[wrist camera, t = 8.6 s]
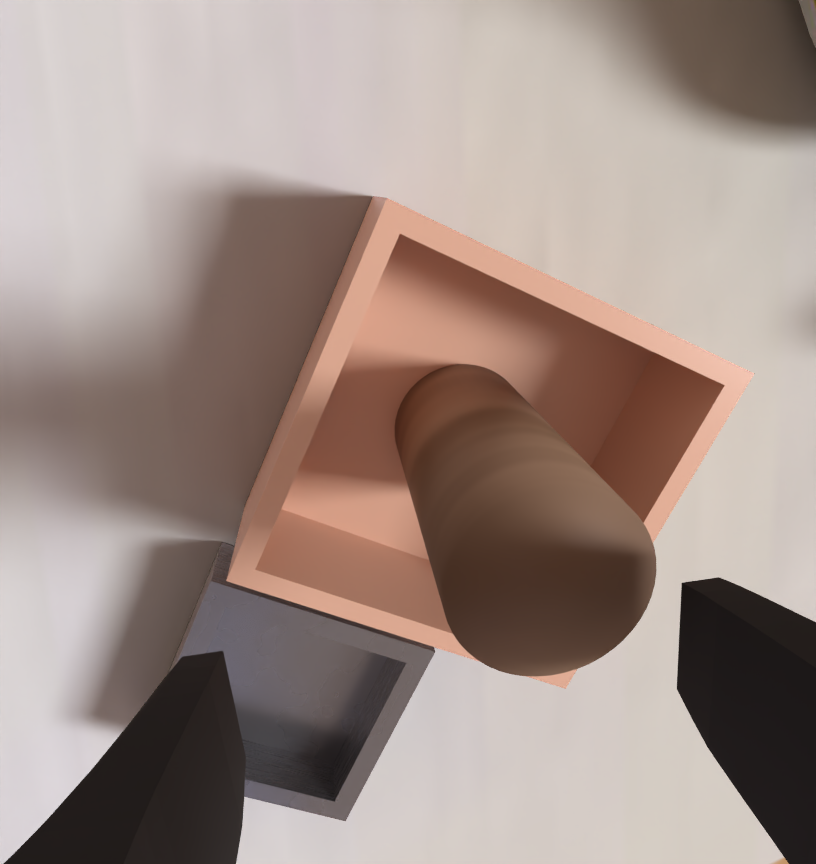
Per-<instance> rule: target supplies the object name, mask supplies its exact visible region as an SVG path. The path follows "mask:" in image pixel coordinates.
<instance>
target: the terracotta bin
mask: <svg viewBox="0 0 816 864" xmlns="http://www.w3.org/2000/svg"><path fill="white" fill-rule="evenodd" d="M457 364H470V365H477V366H481V367H485V368H487V369H490V370H492V371H494V372H496V373H498V374H499V375H500V376H502V377H503V378H504V379H506V380H507V381H508V382H509V383H510V384H511V385H512V386H513V387H514V388H515V389H516V391H517V392H518V393H519V394H520V395H521V396H522V397H523V398H524V399H525V400H526V401H527V402H528V403H529V404H530V405H531V406H532V407H533V408H534V409H535V410H536V411H537V412H538V413H539V414H540V415H541V416H542V417H543V418H544V419H545V420H546V421H547V422H548V423H549V424H550V425H551V426H552V428H553V429H554V430H555V431H556V432H557V433H558V434H559V435H560V436H561V437H562V438H563V439H564V440H565V441H566V442H567V443H568V444H569V445H570V446H571V447H572V448H573V449H574V450H575V451H576V452H577V453H578V454H579V455H580V456H581V457H582V458H583V459H584V460H585V461H586V462H587V463H588V465H589V466H590V467H591V468H592V469H593V470H594V471H595V472H596V473H597V474H598V475H599V476H600V477H601V478H602V479H603V480H604V481H605V482H606V483H607V484H608V485H609V486H610V487H611V488H612V489H613V490H614V491H615V492H616V493H617V494H618V495H619V496H620V497H621V498H622V499H623V500H624V502H625V503H626V504H627V505H628V506H629V507H630V508H631V509H632V510H633V511H634V512H635V513H636V514H637V515H638V516H639V518H640V519H641V520H642V522H643V523H644V525H645V526H646V528H647V530H648V532H649V534H650V536H651V540H652V543H653V542H654V540H655V539H656V537H657V535H658V534H659V532H660V530H661V529H662V527H663V525H664V524H665V522H666V520H667V519H668V517H669V515H670V514H671V512H672V510H673V509H674V507H675V505H676V504H677V502H678V500H679V499H680V497H681V495H682V494H683V492H684V490H685V489H686V487H687V485H688V484H689V482H690V480H691V479H692V477H693V475H694V474H695V472H696V470H697V469H698V467H699V465H700V464H701V462H702V460H703V459H704V457H705V455H706V454H707V452H708V450H709V449H710V447H711V445H712V444H713V442H714V440H715V439H716V437H717V435H718V434H719V432H720V430H721V429H722V427H723V425H724V424H725V422H726V420H727V419H728V417H729V415H730V414H731V412H732V410H733V409H734V407H735V405H736V404H737V402H738V400H739V399H740V397H741V395H742V394H743V392H744V390H745V389H746V387H747V385H748V384H749V382H750V380H751V379H752V377H753V375H754V373H752V372H750V371H748V370H746V369H744V368H742V367H740V366H737V365H735V364H733V363H731V362H729V361H727V360H725V359H723V358H721V357H719V356H717V355H714V354H712V353H710V352H708V351H706V350H704V349H702V348H700V347H698V346H696V345H694V344H691V343H689V342H687V341H685V340H683V339H681V338H679V337H677V336H675V335H673V334H670V333H668V332H666V331H664V330H662V329H660V328H658V327H656V326H654V325H652V324H650V323H647V322H645V321H643V320H641V319H639V318H637V317H635V316H633V315H631V314H629V313H627V312H624V311H622V310H620V309H618V308H616V307H614V306H612V305H610V304H608V303H606V302H603V301H601V300H599V299H597V298H595V297H593V296H591V295H589V294H587V293H585V292H583V291H580V290H578V289H576V288H574V287H572V286H570V285H568V284H566V283H564V282H562V281H560V280H557V279H555V278H553V277H551V276H549V275H547V274H545V273H543V272H541V271H539V270H536V269H534V268H532V267H530V266H528V265H526V264H524V263H522V262H520V261H518V260H516V259H513V258H511V257H509V256H507V255H505V254H503V253H501V252H499V251H497V250H495V249H493V248H490V247H488V246H486V245H484V244H482V243H480V242H478V241H476V240H474V239H472V238H469V237H467V236H465V235H463V234H461V233H459V232H457V231H455V230H453V229H451V228H449V227H446V226H444V225H442V224H440V223H438V222H436V221H434V220H432V219H430V218H428V217H426V216H423V215H421V214H419V213H417V212H415V211H413V210H411V209H409V208H407V207H405V206H402V205H400V204H398V203H396V202H394V201H392V200H390V199H388V198H383V197H375V196H373V197H372V200H371V202H370V205H369V207H368V209H367V212H366V214H365V217H364V219H363V222H362V224H361V226H360V229H359V231H358V234H357V236H356V238H355V241H354V243H353V246H352V248H351V250H350V253H349V255H348V258H347V260H346V263H345V265H344V267H343V270H342V272H341V275H340V277H339V279H338V282H337V284H336V287H335V289H334V292H333V294H332V296H331V299H330V301H329V304H328V306H327V308H326V311H325V313H324V316H323V318H322V321H321V323H320V325H319V328H318V330H317V333H316V335H315V337H314V340H313V342H312V345H311V347H310V349H309V352H308V354H307V357H306V359H305V362H304V364H303V366H302V369H301V371H300V374H299V376H298V378H297V381H296V383H295V386H294V388H293V391H292V393H291V395H290V398H289V400H288V403H287V405H286V407H285V410H284V412H283V415H282V417H281V420H280V422H279V424H278V427H277V429H276V432H275V434H274V436H273V439H272V441H271V444H270V446H269V448H268V451H267V453H266V456H265V458H264V461H263V463H262V465H261V468H260V470H259V473H258V475H257V477H256V480H255V482H254V485H253V487H252V490H251V492H250V494H249V497H248V499H247V502H246V504H245V507H244V511H243V515H242V519H241V523H240V527H239V531H238V535H237V539H236V543H235V547H234V551H233V555H232V559H231V564H230V568H229V572H228V576H227V580H226V581H228V582H231V583H234V584H237V585H240V586H243V587H246V588H250V589H253V590H256V591H259V592H262V593H265V594H269V595H272V596H275V597H278V598H281V599H284V600H287V601H291V602H294V603H297V604H300V605H303V606H306V607H310V608H313V609H316V610H319V611H322V612H325V613H328V614H332V615H335V616H338V617H341V618H344V619H347V620H351V621H354V622H357V623H360V624H363V625H366V626H369V627H373V628H376V629H379V630H382V631H385V632H388V633H392V634H395V635H398V636H401V637H404V638H407V639H410V640H414V641H417V642H420V643H423V644H426V645H429V646H433V647H436V648H439V649H442V650H445V651H448V652H451V653H455V654H458V655H461V656H464V657H467V658H470V659H474V660H477V659H476V658H474V657H473V656H472V655H471V654H469V653H468V652H467V651H466V650H465V649H464V648H463V647H462V646H461V644H460V643H459V642H458V641H457V639H456V638H455V636H454V635H453V633H452V631H451V629H450V627H449V625H448V623H447V620H446V616H445V613H444V610H443V606H442V603H441V599H440V596H439V592H438V589H437V585H436V582H435V578H434V575H433V571H432V568H431V564H430V561H429V557H428V554H427V550H426V547H425V543H424V540H423V536H422V533H421V529H420V526H419V523H418V519H417V516H416V512H415V509H414V505H413V502H412V498H411V495H410V491H409V488H408V484H407V481H406V477H405V474H404V470H403V467H402V463H401V460H400V456H399V453H398V449H397V446H396V441H395V420H396V416H397V412H398V409H399V407H400V404H401V402H402V401H403V399H404V397H405V395H406V394H407V393H408V391H409V390H410V389H411V388H412V387H413V386H414V385H415V384H416V383H417V382H418V381H419V380H420V379H422V378H423V377H424V376H426V375H428V374H429V373H431V372H433V371H435V370H437V369H440V368H443V367H446V366H451V365H457ZM477 661H479V660H477ZM576 670H577V669H575V670H572V671H568V672H565V673H561V674H556V675H550V676H527V677H530V678H533V679H537V680H540V681H543V682H546V683H549V684H552V685H556V686H559V687H562V688H565V689H566V687H567V685H568V684H569V682H570V680H571V679H572V677H573V675H574V674H575V672H576Z"/></svg>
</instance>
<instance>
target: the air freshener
mask: <svg viewBox="0 0 816 864" xmlns="http://www.w3.org/2000/svg"><path fill="white" fill-rule="evenodd" d="M799 3H800V6H801V9H802V12H803V15H804V19H805V22H806V25H807V28H808V31H809V34H810V36H811V39H812V41H813V43H814V45H815V48H816V0H799Z"/></svg>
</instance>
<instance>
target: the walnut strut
mask: <svg viewBox="0 0 816 864" xmlns="http://www.w3.org/2000/svg"><path fill="white" fill-rule="evenodd" d="M395 441H396V446H397V449H398V453H399V456H400V460H401V463H402V467H403V470H404V474H405V477H406V481H407V484H408V488H409V491H410V495H411V498H412V502H413V505H414V509H415V512H416V516H417V519H418V523H419V526H420V529H421V533H422V536H423V540H424V543H425V547H426V550H427V554H428V557H429V561H430V564H431V568H432V571H433V575H434V578H435V582H436V585H437V589H438V592H439V596H440V599H441V603H442V606H443V610H444V613H445V616H446V620H447V623H448V625H449V627H450V629H451V631H452V633H453V635H454V636H455V638H456V639H457V641H458V642H459V643H460V644H461V646H462V647H463V648H464V649H465V650H466V651H467V652H468V653H469V654H471V655H472V656H473V657H474V658H476V659H477V660H479V661H480V662H482V663H484V664H485V665H487V666H489V667H491V668H494V669H496V670H499V671H502V672H505V673H509V674H514V675H520V676H550V675H556V674H561V673H565V672H568V671H572V670H575V669H578V668H580V667H583V666H585V665H587V664H590V663H592V662H593V661H595V660H597V659H599V658H601V657H602V656H604V655H605V654H607V653H608V652H609V651H611V650H612V649H613V648H615V647H616V646H617V645H618V644H619V643H620V642H622V641H623V640H624V639H625V638H626V636H627V635H628V634H629V633H630V632H631V631H632V630H633V628H634V627H635V626H636V624H637V623H638V622H639V620H640V619H641V617H642V615H643V613H644V612H645V610H646V608H647V606H648V603H649V601H650V598H651V596H652V592H653V588H654V585H655V577H656V556H655V550H654V546H653V543H652V540H651V536H650V534H649V532H648V530H647V528H646V526H645V525H644V523H643V522H642V520H641V519H640V518H639V516H638V515H637V514H636V513H635V512H634V511H633V510H632V509H631V508H630V507H629V506H628V505H627V504H626V503H625V502H624V500H623V499H622V498H621V497H620V496H619V495H618V494H617V493H616V492H615V491H614V490H613V489H612V488H611V487H610V486H609V485H608V484H607V483H606V482H605V481H604V480H603V479H602V478H601V477H600V476H599V475H598V474H597V473H596V472H595V471H594V470H593V469H592V468H591V467H590V466H589V465H588V463H587V462H586V461H585V460H584V459H583V458H582V457H581V456H580V455H579V454H578V453H577V452H576V451H575V450H574V449H573V448H572V447H571V446H570V445H569V444H568V443H567V442H566V441H565V440H564V439H563V438H562V437H561V436H560V435H559V434H558V433H557V432H556V431H555V430H554V429H553V428H552V426H551V425H550V424H549V423H548V422H547V421H546V420H545V419H544V418H543V417H542V416H541V415H540V414H539V413H538V412H537V411H536V410H535V409H534V408H533V407H532V406H531V405H530V404H529V403H528V402H527V401H526V400H525V399H524V398H523V397H522V396H521V395H520V394H519V393H518V392H517V391H516V389H515V388H514V387H513V386H512V385H511V384H510V383H509V382H508V381H507V380H506V379H504V378H503V377H502V376H500V375H499V374H498V373H496V372H494V371H492V370H490V369H487V368H485V367H481V366H477V365H470V364H457V365H451V366H446V367H443V368H440V369H437V370H435V371H433V372H431V373H429V374H428V375H426V376H424V377H423V378H422V379H420V380H419V381H418V382H417V383H416V384H415V385H414V386H413V387H412V388H411V389H410V390H409V391H408V393H407V394H406V395H405V397H404V399H403V401H402V402H401V404H400V407H399V409H398V412H397V416H396V420H395Z"/></svg>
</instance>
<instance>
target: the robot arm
mask: <svg viewBox="0 0 816 864" xmlns="http://www.w3.org/2000/svg"><path fill="white" fill-rule="evenodd" d="M677 690H678V692H679V694H680V696H681V698H682V700H683V702H684V704H685V706H686V708H687V710H688V711H689V713H690V715H691V717H692V719H693V721H694V723H695V725H696V727H697V729H698V730H699V732H700V734H701V736H702V738H703V739H704V741H705V743H706V745H707V747H708V748H709V750H710V751H711V753H712V754H713V756H714V757H715V759H716V760H717V762H718V763H719V765H720V766H721V768H722V769H723V770H724V772H725V773H726V775H727V776H728V778H729V779H730V780H731V782H732V783H733V785H734V786H735V788H736V789H737V791H738V792H739V793H740V795H741V796H742V798H743V799H744V801H745V802H746V803H747V805H748V806H749V808H750V809H751V810H752V812H753V813H754V815H755V816H756V818H757V819H758V820H759V822H760V823H761V825H762V826H763V827H764V829H765V830H766V832H767V833H768V835H769V836H770V837H771V839H772V840H773V842H774V843H775V844H776V846H777V847H778V849H779V850H780V852H781V853H782V854H783V856H784V857H785V859H786V860H787V861H788V863H789V864H816V622H814V621H812V620H810V619H808V618H806V617H803V616H801V615H799V614H797V613H795V612H793V611H791V610H789V609H787V608H785V607H783V606H781V605H779V604H777V603H775V602H773V601H770V600H768V599H766V598H764V597H762V596H760V595H758V594H756V593H754V592H751V591H749V590H747V589H745V588H743V587H741V586H738V585H736V584H734V583H731V582H729V581H726V580H724V579H721V578H712V579H705V580H699V581H692V582H685V583H682V592H681V613H680V634H679V655H678V677H677ZM245 769H246V755H245V750H244V746H243V741H242V736H241V732H240V727H239V722H238V718H237V713H236V709H235V704H234V699H233V695H232V690H231V685H230V681H229V676H228V671H227V667H226V662H225V657H224V653H223V651H217V652H210V653H204V654H197V655H190V656H183V657H181V659H180V660H179V661H178V662H177V664H176V665H175V666H174V667H173V668H172V670H171V671H170V672H169V673H168V675H167V676H166V677H165V678H164V680H163V681H162V682H161V684H160V685H159V686H158V688H157V689H156V690H155V691H154V693H153V694H152V695H151V697H150V698H149V699H148V700H147V702H146V703H145V704H144V706H143V707H142V708H141V709H140V711H139V712H138V713H137V715H136V716H135V717H134V718H133V720H132V721H131V722H130V723H129V725H128V726H127V727H126V728H125V730H124V731H123V732H122V733H121V735H120V736H119V737H118V738H117V739H116V741H115V742H114V743H113V744H112V746H111V747H110V748H109V749H108V751H107V752H106V753H105V754H104V755H103V757H102V758H101V759H100V760H99V762H98V763H97V764H96V765H95V766H94V768H93V769H92V770H91V771H90V772H89V773H88V775H87V776H86V777H85V778H84V779H83V780H82V781H81V782H80V784H79V785H78V786H77V787H76V788H75V789H74V790H73V791H72V793H71V794H70V795H69V796H68V797H67V798H66V799H65V800H64V801H63V803H62V804H61V805H60V806H59V807H58V808H57V809H56V810H55V812H54V813H53V814H52V815H51V816H50V817H49V818H48V819H47V820H46V821H45V823H44V824H43V825H42V826H41V827H40V828H39V829H38V830H37V831H36V832H35V833H34V834H33V835H32V836H31V837H30V838H29V839H28V840H27V841H26V842H25V843H24V844H23V845H22V846H21V847H20V848H19V849H18V850H17V851H16V852H15V853H14V854H13V855H12V856H11V857H10V858H9V859H8V860H7V861H6V862H5V863H4V864H236V859H237V854H238V848H239V842H240V836H241V830H242V820H243V805H244V789H245Z"/></svg>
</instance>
